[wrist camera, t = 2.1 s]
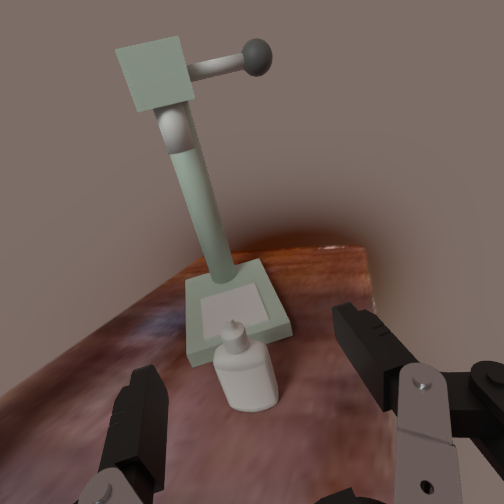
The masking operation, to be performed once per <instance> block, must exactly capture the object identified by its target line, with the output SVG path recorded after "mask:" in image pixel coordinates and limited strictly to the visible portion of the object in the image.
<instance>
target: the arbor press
mask: <svg viewBox="0 0 504 504" xmlns="http://www.w3.org/2000/svg"><path fill="white" fill-rule="evenodd" d="M115 52H116V54H117V57H118V60H119V63H120V65H121V68H122V71H123V74H124V77H125V79H126V82H127V84H128V87H129V90H130V93H131V95H132V98H133V101H134V103H135V107H136V109H137V112H142V111H146V110H152V109H153V110H154V113H155V116H156V119H157V122H158V125H159V128H160V130H161V134H162V136H163V139H164V142H165V145H166V148H167V151H168V154H169V155H170V156H171V159H172V162H173V165H174V168H175V171H176V174H177V177H178V180H179V183H180V186H181V189H182V192H183V195H184V198H185V201H186V204H187V207H188V210H189V213H190V216H191V219H192V221H193V224H194V227H195V230H196V233H197V236H198V239H199V242H200V245H201V248H202V251H203V254H204V257H205V260H206V263H207V266H208V269H209V272H210V273H207V274H204V275H200V276H197V277H194V278H190V279H187V280H185V286H186V355H187V357H188V360H189V362H190V364H191V366H192V368H193V367H196V366H199V365H203V364H206V363H209V362H212V361H213V358H214V353H215V350H216V349H217V348H218V347H219V346H220V345H222V344H223V342H222V339H221V336H220V331H221V329H222V328H223V326H225V319H226V318H227V317H231V318H232V319H233V320H234V322H240V323H242V324H243V325H244V327H245V330H246V334H247V337H248V338H251V339H255V340H258V341H261V342H263V343H264V344H268V343H271V342H274V341H277V340H281V339H284V338H287V337H290V336H293V334H292V329H291V324H290V321H289V319H288V317H287V314H286V312H285V310H284V308H283V306H282V304H281V302H280V300H279V298H278V296H277V294H276V292H275V290H274V288H273V286H272V284H271V282H270V280H269V278H268V276H267V274H266V271H265V269H264V267H263V265H262V263H261V261H260V259H259V258H258V259H255V260H251V261H248V262H245V263H241V264H238V265H234V262H233V259H232V255H231V252H230V248H229V245H228V242H227V238H226V234H225V231H224V227H223V224H222V220H221V217H220V214H219V210H218V206H217V203H216V199H215V196H214V192H213V189H212V185H211V182H210V178H209V174H208V171H207V167H206V164H205V160H204V157H203V153H202V150H201V146H200V143H199V139H198V136H197V133H196V129H195V125H194V122H193V118H192V115H191V111H190V108H189V105H188V101H189V100H193V99H195V96H194V93H193V88H192V85H191V82H193V81H198V80H202V79H206V78H210V77H214V76H219V75H223V74H227V73H232V72H236V71H240V70H245V71H246V72H247V73H248V74H250V75H251V76H255V77H257V76H262V75H264V74H265V73H266V72H267V71H268V70H269V68H270V66H271V64H272V51H271V48H270V46H269V45H268V44H267V43H266V42H265V41H264V40H261V39H252V40H250V41H249V42H247V43H246V44H245V45H244V47H243V49H242V52H241V53H239V54H235V55H231V56H226V57H222V58H217V59H213V60H209V61H204V62H200V63H196V64H191V65H187V66H186V63H185V59H184V55H183V52H182V48H181V44H180V41H179V37H178V36H174V37H169V38H165V39H160V40H156V41H152V42H147V43H143V44H138V45H133V46H129V47H124V48H120V49H115Z"/></svg>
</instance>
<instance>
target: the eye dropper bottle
mask: <svg viewBox="0 0 504 504" xmlns="http://www.w3.org/2000/svg"><path fill="white" fill-rule="evenodd" d="M220 336H221V339H222V342H223V344H222V345H220V346H219V347H218V348H217V349H216V350H215V353H214V358H213V364H214V368H215V371H216V373H217V376H218V378H219V381H220V383H221V386H222V388H223V391H224V393H225V396H226V398H227V400H228V403H229V405H230V406H231V407H232V408H233V409H236V410H239V411H244V412H257V411H262V410H265V409H268V408H270V407H272V406H274V405H276V404H277V402H278V398H279V396H278V385H277V381H276V377H275V374H274V370H273V366H272V362H271V358H270V355H269V351H268V348H267V346H266V344H264V343H263V342H261V341H258V340H255V339H251V338H248V337H247V334H246V330H245V327H244V325H243V324H242V323H240V322H234V320H233V319H232V318H231V317H227V318H226V319H225V326H223V328H222V329H221V331H220Z"/></svg>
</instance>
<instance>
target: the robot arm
mask: <svg viewBox="0 0 504 504" xmlns="http://www.w3.org/2000/svg"><path fill="white" fill-rule="evenodd" d="M332 313H333V322H334V331H335V336H336V338H337V341H338V343H339V345H340V346H341V348H342V350H343V351H344V353H345V354H346V356H347V357H348V359H349V360H350V362H351V363H352V365H353V367H354V368H355V370H356V371H357V373H358V374H359V376H360V377H361V379H362V380H363V382H364V383H365V385H366V387H367V388H368V390H369V391H370V393H371V394H372V396H373V397H374V399H375V400H376V402H377V403H378V405H379V407H380V408H381V410H382V411H383V412H386V411H389V410H393V412H394V413H395V415H396V416H397V418H398V419H397V440H396V462H395V485H394V504H463V502H462V493H461V483H460V474H459V465H458V456H457V450H456V447H455V445H453V441H452V437H457V438H470V439H471V440H472V441H473V443H474V444H475V445H476V446H477V448H478V449H479V450H480V452H481V453H482V454H483V455H484V457H485V458H486V459H487V460H488V462H489V463H490V464H491V466H492V467H493V468H494V469H495V471H496V472H497V473H498V474H499V475H500V477H501V478H502V479H503V481H504V364H501V363H498V362H493V361H480V362H477V363H476V364H474V365H473V367H472V368H471V372H450V373H447V372H439V371H438V370H436V369H435V368H433V367H431V366H429V365H426V364H423V363H420V362H419V361H418V360H417V359H416V358H415V357H414V356H413V355H412V354H411V353H410V352H409V351H408V350H407V348H406V347H405V346H404V345H403V344H402V343H401V342H400V341H399V340H398V339H397V337H396V336H395V335H394V334H393V333H391V331H390V330H389V329H388V328H387V327H386V326H385V325H384V323H383V322H382V321H381V320H380V319H379V318H378V317H377V316H376V315H375V314H373V313H371V312H369V311H367V310H365V309H364V310H361V311H358V310H357V309H356V308H355V307H354V306H353V305H352V303H350V302H346V303H343V304H339V305H336V306H333V307H332ZM168 405H169V399H168V392H167V389H166V386H165V385H164V383H163V381H162V379H161V378H160V376H159V374H158V372H157V371H156V369H155V367H154V366H153V365H152V364H151V365H148V366H145V367H142V368H138V369H135V370H133V372H132V375H131V380H130V385H128V386H125V387H123V388H122V389H121V391H120V393H119V394H118V396H117V398H116V399H115V402H114V406H113V411H112V416H111V419H110V423H109V425H110V427H109V428H108V432H107V436H106V440H105V445H104V449H103V453H102V457H101V462H100V466H99V470H98V473H97V474H96V475H95V476H94V477H93V478H92V479H91V480H90V481H89V482H88V484H87V485H86V486H85V488H84V490H83V491H82V493H81V496H80V498H79V500H77V501H76V502H75V503H74V504H153V494H154V493H156V492H159V491H162V490H164V481H165V462H166V443H167V424H168ZM315 504H386V503H383V502H381V501H379V500H375V499H371V498H366V497H355V495H354V493H353V490H352V488H351V487H350V488H348V489H345V490H342V491H340V492H337V493H335V494H332V495H329V496H327V497H324V498H321V499H320V500H319V501H317V502H316V503H315Z"/></svg>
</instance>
